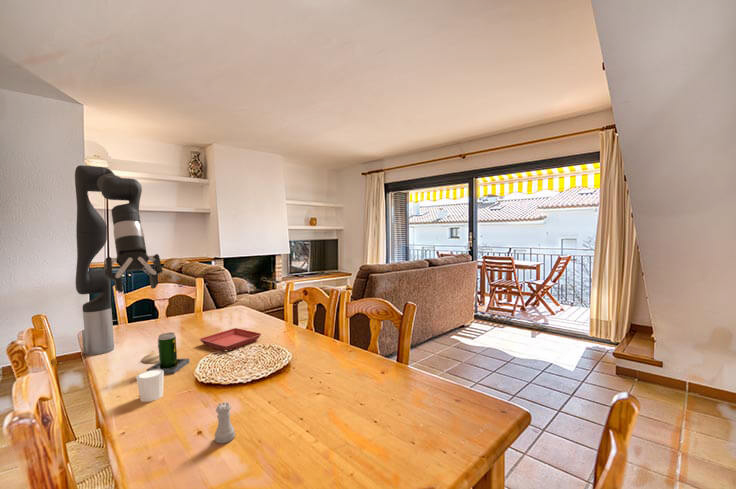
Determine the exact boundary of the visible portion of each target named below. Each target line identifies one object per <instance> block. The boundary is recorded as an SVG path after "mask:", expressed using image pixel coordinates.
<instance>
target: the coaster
mask: <svg viewBox="0 0 736 489" xmlns="http://www.w3.org/2000/svg"><path fill="white" fill-rule="evenodd" d="M141 362H142V363H144V364H156V363H158V362H160V361H159V351H157V352H153V353H149V354H148V355H147V354H146V356H143V357H142V359H141Z"/></svg>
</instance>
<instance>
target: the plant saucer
mask: <svg viewBox="0 0 736 489" xmlns="http://www.w3.org/2000/svg"><path fill="white" fill-rule="evenodd" d="M261 335H262V333H261V332H256V331H251V330H246V329H243V328H237V327H235V328H234V327H233V328H230V329H228V330H224V331H221V332H217V333H214V334H211V335H207V336H204V337H200V338H199V340H200V342H201V343H202V344H204V345H205V346H206V347H207V346H208V347H210V348H214V349H218V350H221V351H224V350H229V351H231V350H230V349H232V350H234V349H233V348H235V349H237V348H239V347H243V346H245V345H248V344H251V343H254V342H256V341H257V340H258V339H259V338H260V337H261ZM236 347H237V348H236Z"/></svg>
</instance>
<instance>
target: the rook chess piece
mask: <svg viewBox="0 0 736 489" xmlns="http://www.w3.org/2000/svg"><path fill="white" fill-rule="evenodd" d="M231 408H232V407H231V405H230V403H229V402H227V401H226V402H225V401H223V402H222V403H218V405H217V406H216V409H215V412H216V413H217V420H218V421H217V427H216V430H215V432H214V441H215V443H217V444H227V443H229V442H231V441H233V439H234V438H235V436H236V433H235V428H234V426H233V425H232V422H231V412H230V410H231Z"/></svg>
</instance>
